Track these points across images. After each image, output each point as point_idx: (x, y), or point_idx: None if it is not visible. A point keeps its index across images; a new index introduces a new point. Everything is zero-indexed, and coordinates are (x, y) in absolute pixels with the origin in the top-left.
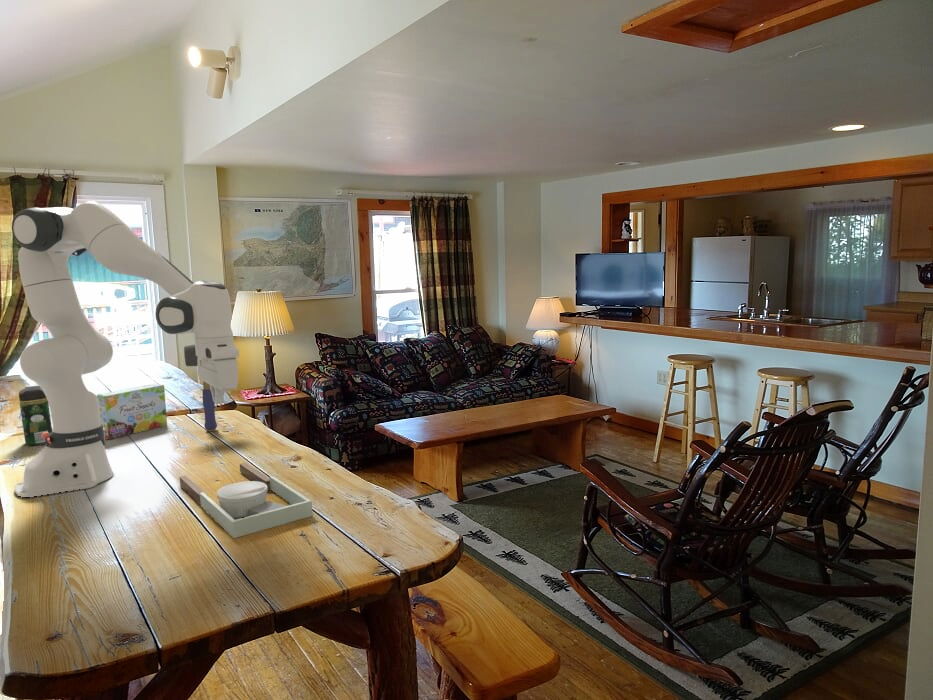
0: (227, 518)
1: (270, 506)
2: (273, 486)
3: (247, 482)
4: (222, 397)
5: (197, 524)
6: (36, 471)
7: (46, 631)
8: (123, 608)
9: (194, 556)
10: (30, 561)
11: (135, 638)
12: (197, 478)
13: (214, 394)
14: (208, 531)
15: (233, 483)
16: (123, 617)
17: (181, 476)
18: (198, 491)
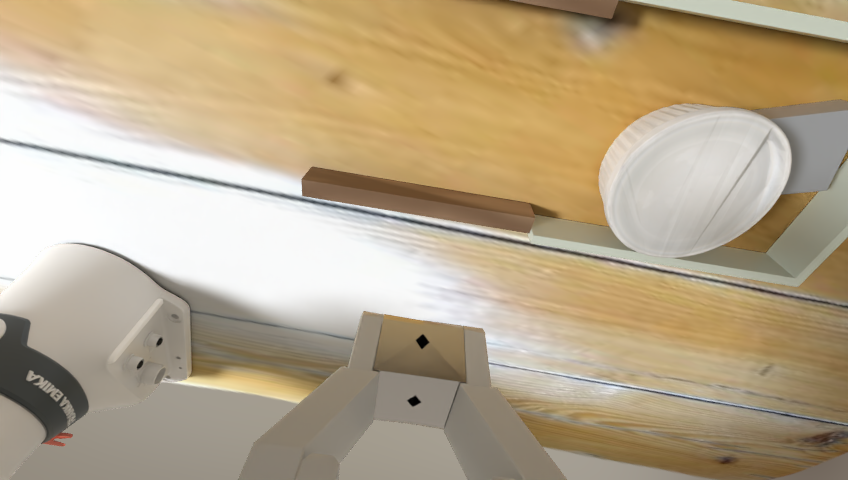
0: (761, 280)
1: (803, 146)
2: (650, 5)
3: (661, 149)
4: (484, 380)
5: (613, 269)
6: (142, 399)
7: (705, 460)
8: (758, 421)
9: (740, 330)
10: None
11: (838, 435)
12: (268, 116)
13: (367, 421)
14: (673, 272)
15: (617, 183)
16: (778, 427)
17: (302, 190)
18: (481, 220)
